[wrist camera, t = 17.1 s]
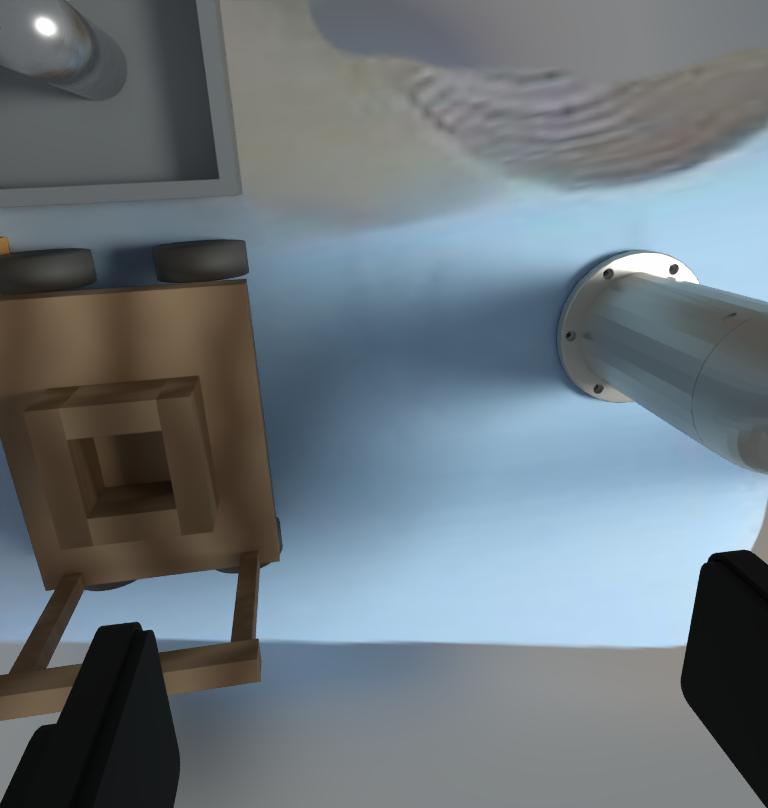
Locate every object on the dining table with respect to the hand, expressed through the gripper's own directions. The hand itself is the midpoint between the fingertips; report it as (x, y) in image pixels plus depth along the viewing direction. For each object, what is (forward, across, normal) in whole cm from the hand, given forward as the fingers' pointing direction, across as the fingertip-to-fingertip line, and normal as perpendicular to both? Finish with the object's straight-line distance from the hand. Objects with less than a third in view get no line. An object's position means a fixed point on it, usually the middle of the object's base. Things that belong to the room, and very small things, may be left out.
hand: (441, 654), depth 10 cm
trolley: (+38, +13, +8) cm, 41 cm away
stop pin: (+37, +14, -15) cm, 42 cm away
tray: (+38, +14, -15) cm, 43 cm away
